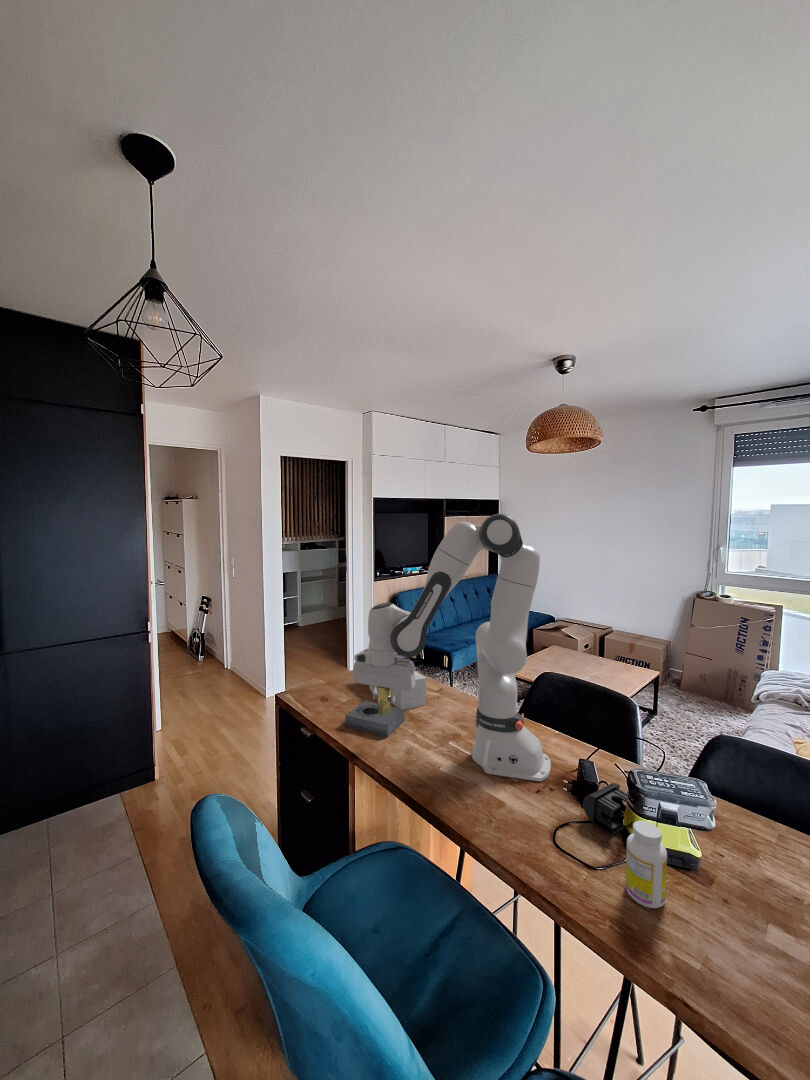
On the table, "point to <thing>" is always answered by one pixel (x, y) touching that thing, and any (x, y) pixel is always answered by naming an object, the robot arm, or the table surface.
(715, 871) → the table surface
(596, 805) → the end cap
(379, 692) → the peg
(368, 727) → the jig
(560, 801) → the table surface
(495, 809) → the table surface
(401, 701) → the light gray rectangular block
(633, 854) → the supplement bottle
